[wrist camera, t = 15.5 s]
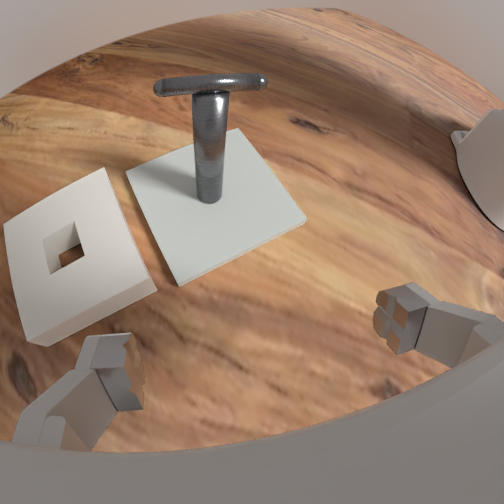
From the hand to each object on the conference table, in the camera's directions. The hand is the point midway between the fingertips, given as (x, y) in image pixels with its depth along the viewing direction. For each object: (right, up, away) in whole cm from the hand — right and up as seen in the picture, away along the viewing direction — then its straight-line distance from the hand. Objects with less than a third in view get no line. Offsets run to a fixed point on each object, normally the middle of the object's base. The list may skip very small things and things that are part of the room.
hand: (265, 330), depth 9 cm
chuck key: (-4, +7, +14) cm, 16 cm away
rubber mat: (-4, +7, +15) cm, 17 cm away
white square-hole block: (-14, +2, +11) cm, 18 cm away
